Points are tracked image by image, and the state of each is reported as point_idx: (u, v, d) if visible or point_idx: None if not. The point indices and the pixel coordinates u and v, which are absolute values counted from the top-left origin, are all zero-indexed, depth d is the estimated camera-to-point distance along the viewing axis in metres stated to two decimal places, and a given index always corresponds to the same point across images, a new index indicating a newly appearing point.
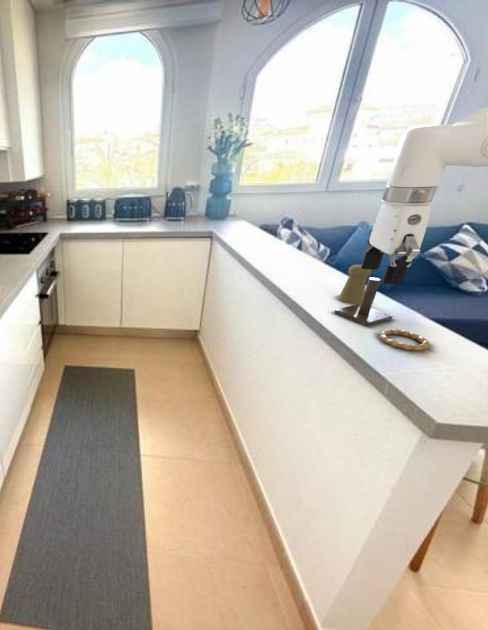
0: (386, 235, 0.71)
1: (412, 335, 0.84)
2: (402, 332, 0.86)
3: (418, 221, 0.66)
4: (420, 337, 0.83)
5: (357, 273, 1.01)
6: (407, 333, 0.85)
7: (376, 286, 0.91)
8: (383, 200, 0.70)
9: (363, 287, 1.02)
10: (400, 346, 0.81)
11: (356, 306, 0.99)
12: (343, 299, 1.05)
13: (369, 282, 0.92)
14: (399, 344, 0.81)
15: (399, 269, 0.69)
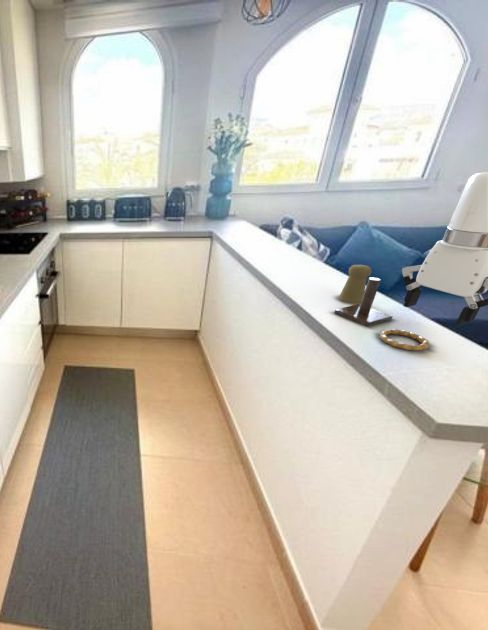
0: (459, 278, 0.70)
1: (412, 335, 0.84)
2: (402, 332, 0.86)
3: None
4: (420, 337, 0.83)
5: (357, 273, 1.01)
6: (407, 333, 0.85)
7: (376, 286, 0.91)
8: (455, 244, 0.69)
9: (363, 287, 1.02)
10: (400, 346, 0.81)
11: (356, 306, 0.99)
12: (343, 299, 1.05)
13: (369, 282, 0.92)
14: (399, 344, 0.81)
15: (476, 310, 0.70)
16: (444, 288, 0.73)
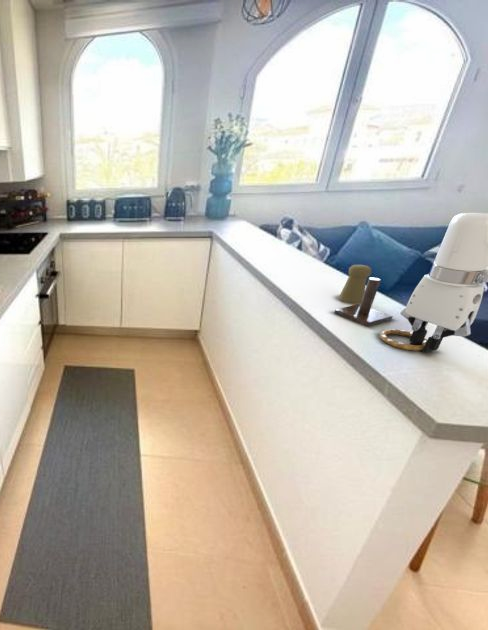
0: (445, 312, 0.73)
1: None
2: (402, 332, 0.86)
3: (476, 299, 0.71)
4: None
5: (357, 273, 1.01)
6: (407, 333, 0.85)
7: (376, 286, 0.91)
8: (440, 280, 0.72)
9: (363, 287, 1.02)
10: (400, 346, 0.81)
11: (356, 306, 0.99)
12: (343, 299, 1.05)
13: (369, 282, 0.92)
14: (399, 344, 0.81)
15: (440, 340, 0.77)
16: (432, 320, 0.76)
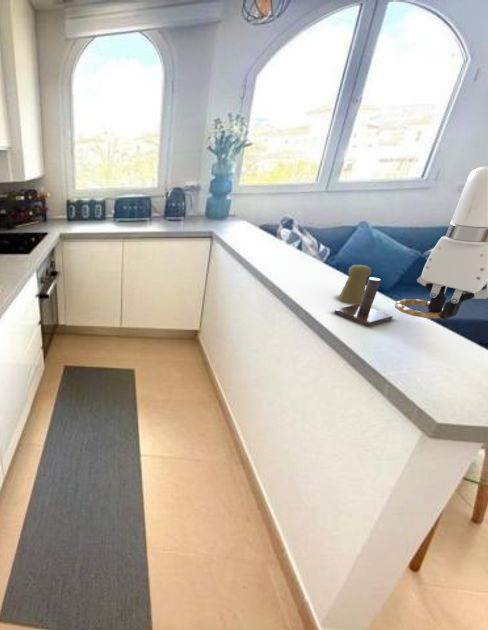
0: (465, 274, 0.69)
1: None
2: (419, 301, 0.82)
3: None
4: None
5: (357, 273, 1.01)
6: (425, 302, 0.81)
7: (376, 286, 0.91)
8: (459, 240, 0.68)
9: (363, 287, 1.02)
10: (417, 314, 0.77)
11: (356, 306, 0.99)
12: (343, 299, 1.05)
13: (369, 282, 0.92)
14: (416, 312, 0.77)
15: (458, 304, 0.73)
16: (450, 284, 0.72)
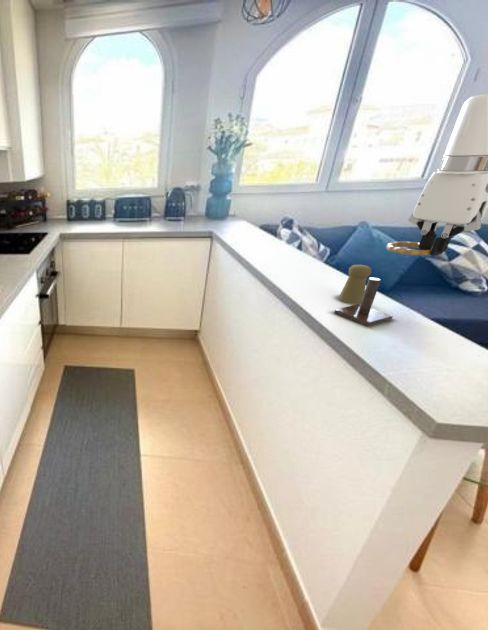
0: (456, 206, 0.70)
1: None
2: (410, 243, 0.83)
3: None
4: None
5: (357, 273, 1.01)
6: (415, 243, 0.82)
7: (376, 286, 0.91)
8: (451, 171, 0.69)
9: (363, 287, 1.02)
10: (408, 252, 0.78)
11: (356, 306, 0.99)
12: (343, 299, 1.05)
13: (369, 282, 0.92)
14: (407, 250, 0.78)
15: (448, 239, 0.74)
16: (441, 218, 0.73)
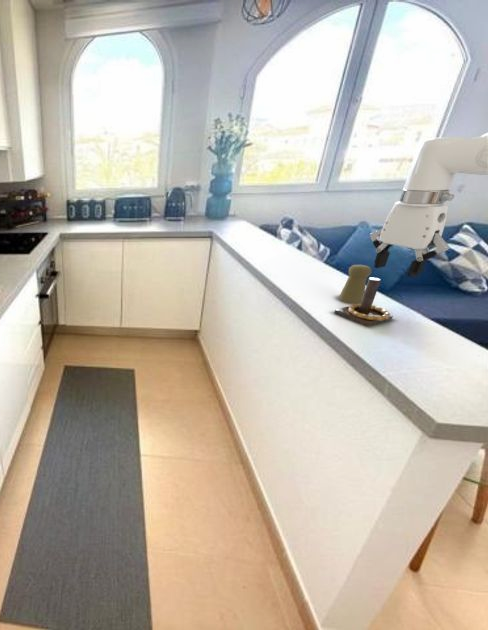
0: (414, 233, 0.80)
1: (376, 308, 0.95)
2: None
3: (441, 218, 0.77)
4: (383, 310, 0.94)
5: (357, 273, 1.01)
6: (372, 307, 0.96)
7: (376, 286, 0.91)
8: (409, 203, 0.78)
9: (363, 287, 1.02)
10: (364, 317, 0.92)
11: None
12: (343, 299, 1.05)
13: (369, 282, 0.92)
14: (363, 315, 0.92)
15: (423, 262, 0.81)
16: (402, 243, 0.82)
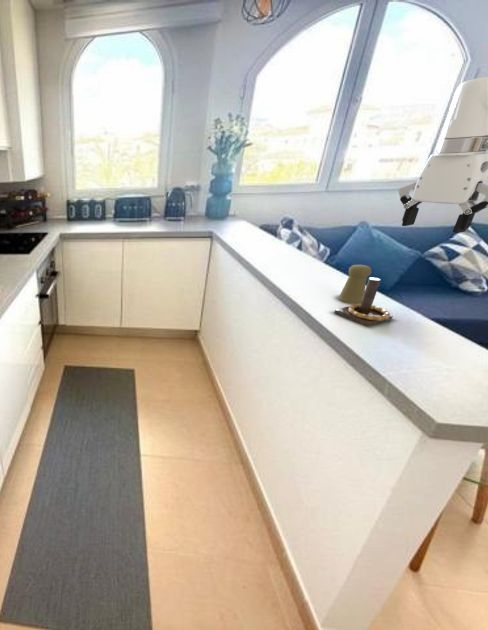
0: (453, 186, 0.73)
1: (376, 308, 0.95)
2: None
3: (483, 168, 0.71)
4: (383, 310, 0.94)
5: (357, 273, 1.01)
6: (372, 307, 0.96)
7: (376, 286, 0.91)
8: (447, 153, 0.72)
9: (363, 287, 1.02)
10: (364, 317, 0.92)
11: None
12: (343, 299, 1.05)
13: (369, 282, 0.92)
14: (363, 315, 0.92)
15: (471, 216, 0.73)
16: (439, 199, 0.76)
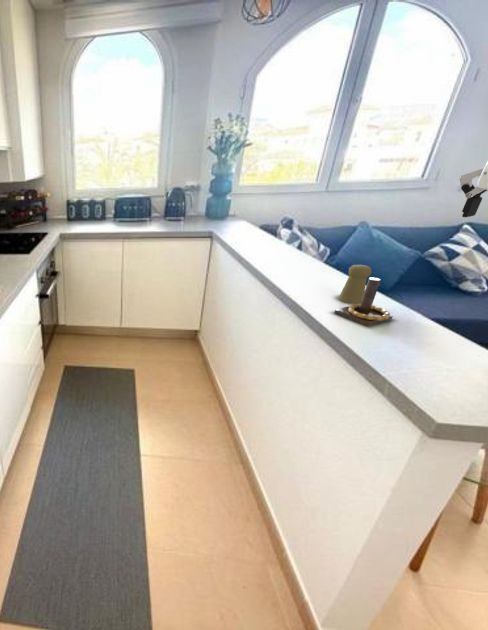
0: None
1: (376, 308, 0.95)
2: None
3: None
4: (383, 310, 0.94)
5: (357, 273, 1.01)
6: (372, 307, 0.96)
7: (376, 286, 0.91)
8: None
9: (363, 287, 1.02)
10: (364, 317, 0.92)
11: None
12: (343, 299, 1.05)
13: (369, 282, 0.92)
14: (363, 315, 0.92)
15: None
16: None
